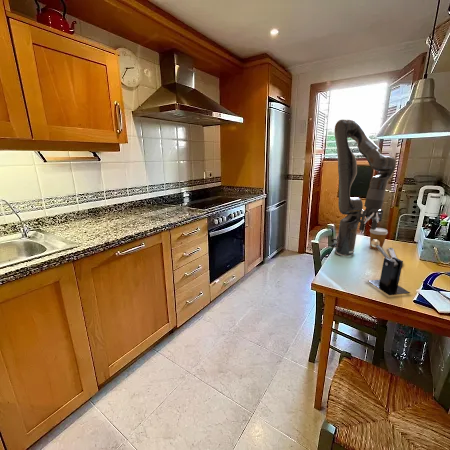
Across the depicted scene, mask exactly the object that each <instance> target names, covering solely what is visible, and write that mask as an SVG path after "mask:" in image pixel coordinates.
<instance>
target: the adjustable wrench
mask: <svg viewBox="0 0 450 450" xmlns="http://www.w3.org/2000/svg"><path fill="white" fill-rule="evenodd" d="M387 252H388V254H389V257H390V258H391V259H392V257H395V258H397V259H399V258H398V257H397V255H396V252H395V249H394V248H393V247H388V248H387Z"/></svg>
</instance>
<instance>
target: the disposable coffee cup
mask: <svg viewBox="0 0 450 450" xmlns="http://www.w3.org/2000/svg"><path fill="white" fill-rule="evenodd" d="M369 232H370V233H369V248H370V249H373V250H377V251H379V250H378V249H377V247H373V246H372V245H371V241H372V240H373V239H377V240H378V241H379V242H380V245H379V246H380V247H381V248H382V249H383V246H384V243H385V241H386V238H387V235H388V234H389V231H388V229H386V228H383V227H376V230H373V229H371V228H370V229H369Z"/></svg>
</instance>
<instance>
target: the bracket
mask: <svg viewBox="0 0 450 450" xmlns="http://www.w3.org/2000/svg"><path fill="white" fill-rule="evenodd" d="M397 258H398V257H397ZM397 258H395V257H392V259H395V260H396V262H397V263H398V265H397V267H396V268H394V263H395V262H394V261H392V260H390V259H388V258H385V257H383V262H382V268H381V273H380V277H379V279H371V280H368V282H369V283H370V284H371V285H372V286H374V287H377V288H378V289H379V290H380V291H382V292H383V293H385V294H386V295H388V296H396V295H405V294H411V292H410V291H408V290H407V289H405V288H403V287H402V286H400V285H399V284H400V283H399V282H400V279H401V274H402V269H403V264H404V260H402V259H400V258H398V259H397Z"/></svg>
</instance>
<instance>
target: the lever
mask: <svg viewBox="0 0 450 450" xmlns="http://www.w3.org/2000/svg"><path fill="white" fill-rule="evenodd" d="M371 245H372V246H373V247H377V249H378V250H377V251H379V252H380V253H381V254H382V256H383V258H388V259H390V260H392V261H394V262H395V263H394V268H396V267H397V265H398V263H397V262H396V260H395V259H391V257H390V255H388V253H387V252H386V251H385V250H384V249H383V247H382V248H381V247H380V246H379V245H380V242H379V241H378V240H377V239H373V240H372V241H371Z"/></svg>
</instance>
